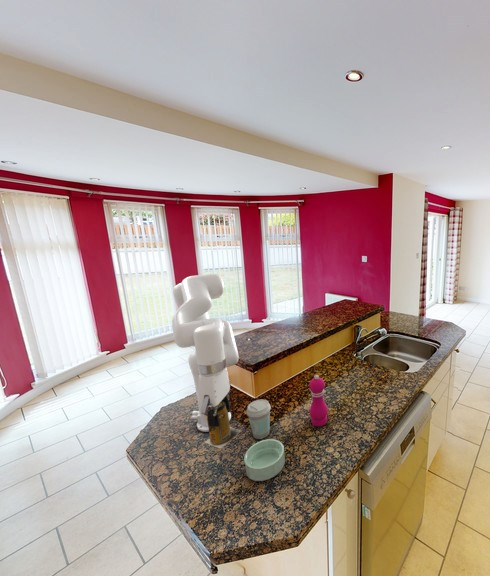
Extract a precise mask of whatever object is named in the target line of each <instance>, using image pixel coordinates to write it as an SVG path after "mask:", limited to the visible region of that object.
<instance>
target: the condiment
mask: <svg viewBox="0 0 490 576" xmlns="http://www.w3.org/2000/svg"><path fill="white" fill-rule="evenodd" d="M225 405H226V404H225V402H224V401H221V402H220V403H219V404H218V405H217V414H218V415H219V422H220V425H219V426H218V427H209V424H208V428H209V432H208V436H209V438H208V439H206V440H205V441H204V443H205V444H208V445H210V446H212V447H215V448H218V449H220V450H221V449H222V448H223V447H225V446H226V445H227V444H228V443H230V442H231V441H232V440H233V439H234V438H235V437H236V436H238V435H239V434H240V433H241V432H242V429H238V428H235V427H232V426H231V424H230V421H229V416H228V410H227V409H226V406H225ZM210 410H211V411H213V407H210ZM207 422H208V418H207Z"/></svg>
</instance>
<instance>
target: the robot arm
mask: <svg viewBox="0 0 490 576" xmlns="http://www.w3.org/2000/svg"><path fill="white" fill-rule="evenodd" d="M224 292H225V283H224V280H223V278H222V276H220V274H217V273H208V274H197V275H196V274H195V275H190V276H187V277H185V278H184V279H182V281H181V282H180V283H178V284H176V285H175V286H174V287H173V288H172V294H173V298H174V301H175V303H176V306H177V309H176V311H175V312H174V314H173V316H172V320H171V327H172V328H171V329H172V333H173V334H172V335H173V341H174V343H175V344H176V346H178V347H179V348H181V349H183V348H184V349H185V348H190V347H193V348H195V349H194V351H192V352H191V353H190V354H189V356H188V360H187V361H188V362H187V363H188V366H189V369H190V370H191V374H192V378H193V383H194V388H195V394H196V401H197V406H198V410H193V411H191V420H197V422H196V428H197V430H199V431H200V432H202V433H203V432H204V433H209V428H208V424H209V427H218V426H219V425H220V422H219V415H218V414H217V405H218V404H219V403H220V402H221V401H224V402H225V404H226V405H225V406H226V409H227V410H228V416H229V422H230V421H231V419H232V413H231V406H230V405H231V404H230V399H231V398H230V391H231V385H232V384H231V382H230V376H229V372H228V368H229V367H233V366H235V365H237V364H238V362H239V359H240V357H239V351H238V347H237V343H236V339H235V334H234V331H233V327H232V325H231V323H230V321H228V320H227V319H223V318H219V317H212V318H210V315H209V311H210V310H211V308H212V305H213V302H212V301H213V300H214V299H219V298H221V296H222V295H223V294H224ZM210 407H213V411H211V410H210ZM207 418H208V422H207Z"/></svg>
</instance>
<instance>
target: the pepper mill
mask: <svg viewBox="0 0 490 576" xmlns="http://www.w3.org/2000/svg"><path fill="white" fill-rule="evenodd" d="M325 386H326V383H325V381H324V379H323V378H321V377H320V376H319V375H318V374H315V375H314V377H313V378H312V379H311V380H310V381H309V385H308V387H309V389H310V395H311V396H312V403H311V404H310V407H309V416H310V420H311V421H310V422H311V425H312V426H314V427H322V426H324V425H326V424H327V422H328V414H329V409H328V406H327V405H328V404H327V403H326V402H325V400H324V395H325Z"/></svg>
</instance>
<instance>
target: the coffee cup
mask: <svg viewBox="0 0 490 576" xmlns="http://www.w3.org/2000/svg"><path fill="white" fill-rule="evenodd" d="M271 407H272V406H271V404H270V403H269V401H268V400H266V399H255V400H254V401H252V402H250V403H249V404H248V405H247V408H246V416H247V417H248V421H249V425H250V429H251V433H252V437H253V438H254V439H255V440H261V439H262V440H263V439H265V438H266V437H268V436H269V434H270V425H271V424H270V423H271V422H270V421H271V420H270V419H271V409H272V408H271Z"/></svg>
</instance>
